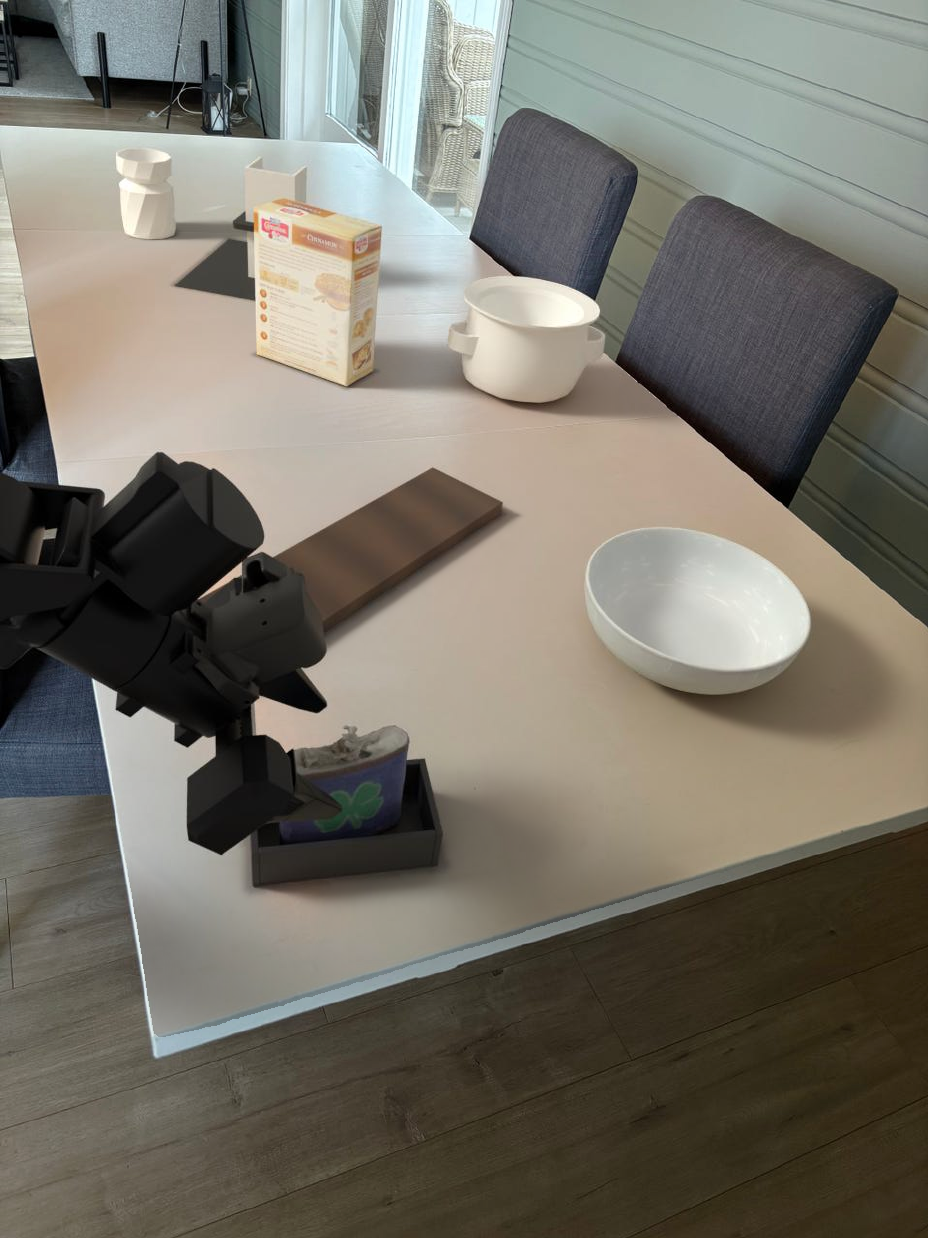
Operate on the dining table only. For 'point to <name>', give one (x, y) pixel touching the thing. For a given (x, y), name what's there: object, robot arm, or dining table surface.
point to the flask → (354, 785)
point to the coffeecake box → (316, 289)
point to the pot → (526, 337)
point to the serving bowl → (694, 610)
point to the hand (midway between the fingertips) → (329, 757)
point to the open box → (357, 843)
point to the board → (385, 542)
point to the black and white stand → (236, 259)
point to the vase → (146, 193)
